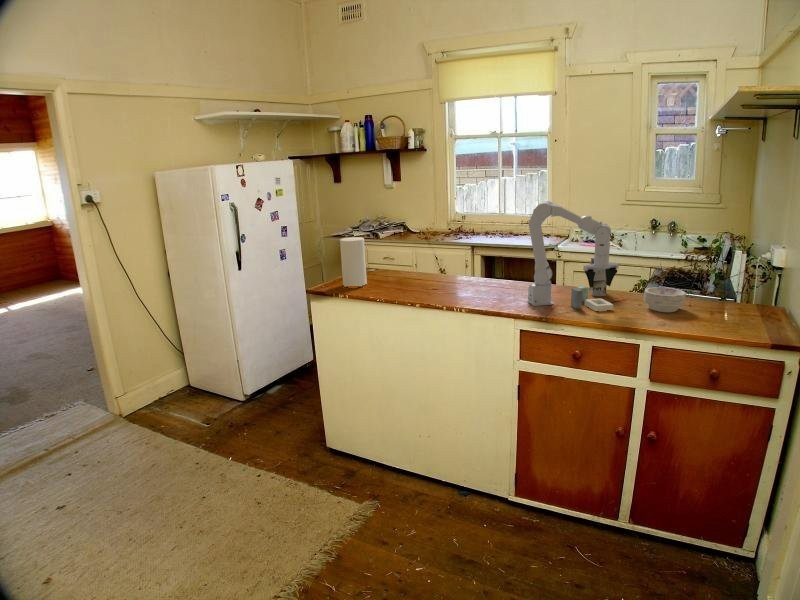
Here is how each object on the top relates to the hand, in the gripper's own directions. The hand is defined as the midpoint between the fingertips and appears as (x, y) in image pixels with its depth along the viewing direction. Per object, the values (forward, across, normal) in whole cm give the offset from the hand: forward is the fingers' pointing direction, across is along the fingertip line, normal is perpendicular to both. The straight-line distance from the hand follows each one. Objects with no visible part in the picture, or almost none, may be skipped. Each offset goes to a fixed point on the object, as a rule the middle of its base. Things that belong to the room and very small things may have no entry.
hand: (599, 286), depth 219 cm
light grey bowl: (+10, +24, -9) cm, 27 cm away
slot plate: (+9, 0, 0) cm, 9 cm away
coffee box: (+10, +10, +21) cm, 25 cm away
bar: (+9, -8, +3) cm, 13 cm away
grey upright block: (+9, -2, +12) cm, 15 cm away
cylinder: (+10, -100, +70) cm, 122 cm away
